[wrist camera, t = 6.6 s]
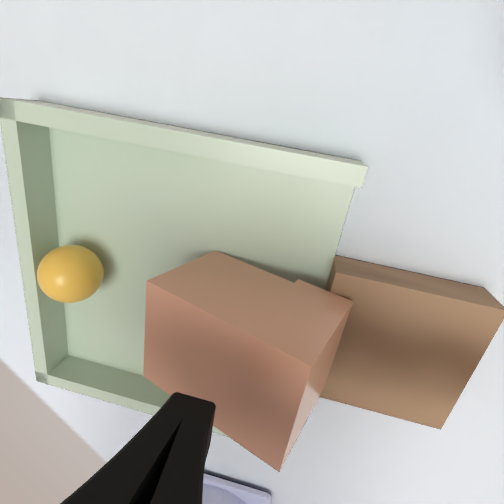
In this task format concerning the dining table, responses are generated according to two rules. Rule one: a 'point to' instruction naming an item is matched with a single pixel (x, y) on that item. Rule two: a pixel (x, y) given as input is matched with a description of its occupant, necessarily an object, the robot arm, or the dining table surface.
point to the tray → (153, 226)
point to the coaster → (407, 340)
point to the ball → (70, 273)
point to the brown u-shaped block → (243, 347)
